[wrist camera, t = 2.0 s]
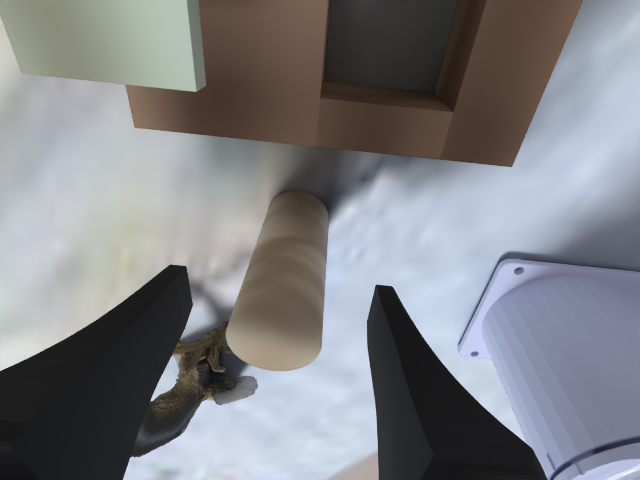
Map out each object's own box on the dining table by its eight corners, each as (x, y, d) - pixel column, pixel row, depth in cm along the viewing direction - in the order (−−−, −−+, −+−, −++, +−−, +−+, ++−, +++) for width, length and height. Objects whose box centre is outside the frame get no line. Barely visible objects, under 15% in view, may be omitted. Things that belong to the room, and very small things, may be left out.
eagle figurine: (131, 304, 21) (108, 404, 24) (157, 406, 16) (123, 512, 20) (245, 298, 26) (213, 381, 29) (290, 374, 21) (245, 463, 25)
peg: (332, 193, 17) (326, 312, 11) (325, 246, 19) (317, 375, 13) (267, 187, 17) (222, 302, 11) (267, 240, 19) (228, 366, 13)
